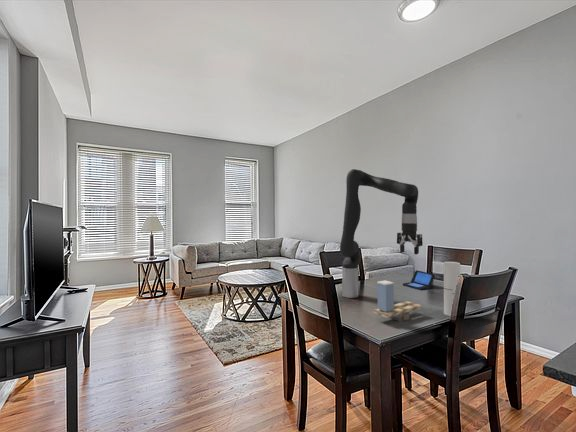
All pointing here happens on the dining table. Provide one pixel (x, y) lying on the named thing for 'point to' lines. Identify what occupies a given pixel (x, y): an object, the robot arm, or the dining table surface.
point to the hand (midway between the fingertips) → (409, 253)
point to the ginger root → (399, 311)
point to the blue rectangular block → (385, 295)
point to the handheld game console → (420, 281)
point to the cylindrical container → (450, 284)
